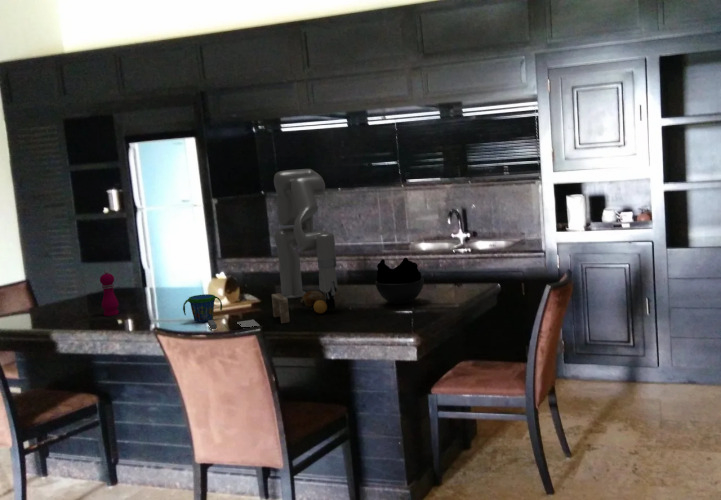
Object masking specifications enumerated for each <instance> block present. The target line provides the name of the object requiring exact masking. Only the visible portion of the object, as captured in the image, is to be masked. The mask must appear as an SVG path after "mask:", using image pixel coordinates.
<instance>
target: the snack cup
mask: <svg viewBox="0 0 721 500" xmlns="http://www.w3.org/2000/svg"><path fill="white" fill-rule="evenodd" d="M216 299H217V300H218V301H219V303H220V307H219V308H220V309H219V311H222V310H223V303H222V300H221V299H220V298H219V297H218V296H216V295H215V294H210V293H208V294H207V293H206V294H196V295H192V296H189V297H188V299H186V300H185V301H184V302H183V306H182V311H183V314H184V316H187V314H186V304H187V303H188V302H189V304H190V309H191V312H192V316H193V320H194V322H195V321H197V322H196V323H199V322H202V323H206V322H205V321H207V322H208V320H212V319H213V320H214V314H215V313H214V311H215V308H214V307H215V302H216Z"/></svg>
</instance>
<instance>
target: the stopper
mask: <svg viewBox="0 0 721 500" xmlns="http://www.w3.org/2000/svg"><path fill="white" fill-rule="evenodd" d="M207 324H208V325H209V326H210V328H211V329H216V328H217V329H218V325H217V323H216V321H215V320H214V319H213V320H208V321H207ZM209 326H208V327H209ZM210 328H209V329H210ZM211 329H210V330H211Z"/></svg>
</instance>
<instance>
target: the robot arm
mask: <svg viewBox="0 0 721 500" xmlns="http://www.w3.org/2000/svg"><path fill="white" fill-rule="evenodd" d="M273 185H274V188H275V191H276V195H277V221H278V223H279V224H280V225H281V226H286V227H281V228H279V229H277V230H276V231H275V233H274V237H273V238H274V243H275V247H276V250H277V258H278V266H279V278H280V288H281V293H279V294H281V295H282V296H284V297H285V298H287V299H296V298H302V297H303V296H304V295H305V294H306V293H307V292H306V291H304V290H303V282H302V270H301V261H300V259H301V258H300V255H299V254H298V252H297V251H296V250H295V248H298V249H299V250H300V251H302V252H312V251H316V259H317V269H318V284H319V287H318V288H319V291H321V292H323V293H324V297H325V302H326V304H327V310H332V309H336V303H335V300H336V299H335V296H336V292H337V291H338V278H337V272H336V271H337V270H336V268H337V266H338V265H337V252H336V243H335V242H336V241H335V235H334V233H331V232H328V231H326V230H321V231H320V230H319V231H314V215H315V214H317V212H318V211H319V205H318V202H317V199H316V196H321V195H323V194H324V193H325V191H326V183H325V181H324V178H323V177H322V176H321V175H320V174H319V173H317V171H315V170H313V169H312V168H301V169H286V170H281V171H277V172H276V173H275V174H274V177H273Z"/></svg>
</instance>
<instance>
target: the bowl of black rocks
mask: <svg viewBox="0 0 721 500" xmlns="http://www.w3.org/2000/svg"><path fill="white" fill-rule="evenodd" d="M418 267H419V264H417V263H416V262H414V261H412V260H409V259H408V257H404V258H403V259H402V261H401V262H400V263H399V264H398V265H397V266H396V267H394V268H390V266H389V265H387V264H386V261H385V259H384V258H382V259H381V260H380V261H379V263H377V265H376V268H377V272H376V273H377V274H376V280H375V282H374V283H375V286H376V289H377V291H378V293H379V296H381V297H382V298H383V299H384V300H385V301H387V302H389V303H392V304H395V305H406V304H409V303H410V302H412V301H414V300H415V299H416V298H418V297H419V295H420V294H421V292H422V289H423V287H424V284H425V280H424V279H425V277H423V276H422V273H421V271H419V268H418Z"/></svg>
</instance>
